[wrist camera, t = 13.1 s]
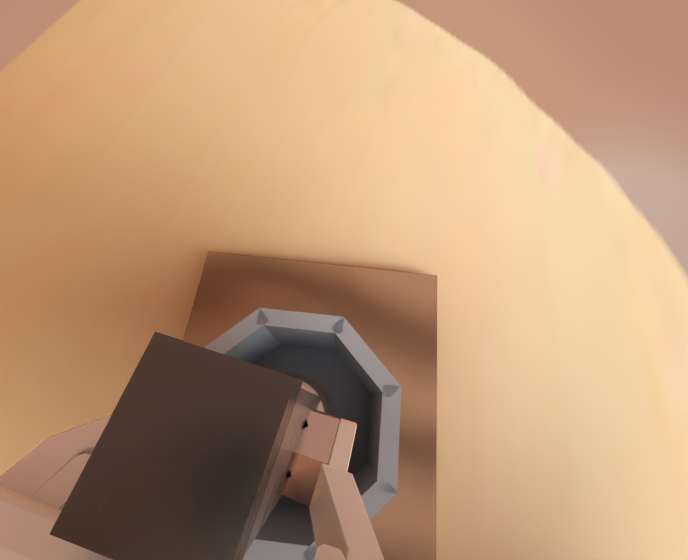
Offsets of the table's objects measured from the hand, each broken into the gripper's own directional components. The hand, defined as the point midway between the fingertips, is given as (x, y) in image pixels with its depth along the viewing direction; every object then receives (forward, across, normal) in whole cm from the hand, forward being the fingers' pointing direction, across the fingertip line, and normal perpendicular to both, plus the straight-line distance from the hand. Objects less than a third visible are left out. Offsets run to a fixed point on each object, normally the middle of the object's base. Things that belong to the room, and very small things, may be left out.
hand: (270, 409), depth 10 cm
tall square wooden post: (+5, 0, +6) cm, 7 cm away
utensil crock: (+7, 0, +7) cm, 10 cm away
